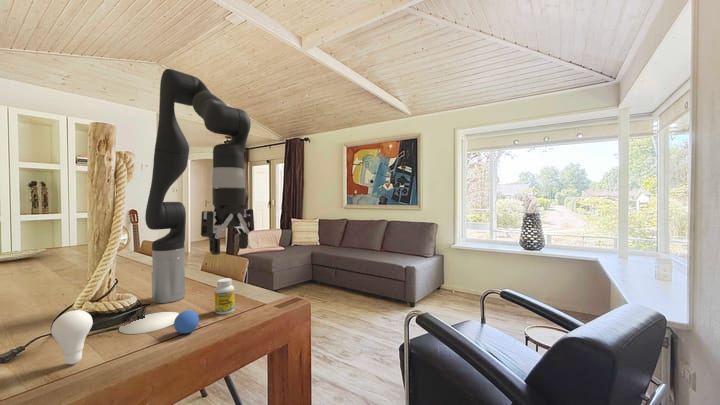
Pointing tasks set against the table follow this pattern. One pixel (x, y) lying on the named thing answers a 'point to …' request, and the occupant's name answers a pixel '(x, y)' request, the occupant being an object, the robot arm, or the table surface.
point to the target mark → (150, 323)
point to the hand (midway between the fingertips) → (230, 251)
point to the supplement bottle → (224, 296)
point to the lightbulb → (72, 333)
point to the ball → (186, 322)
